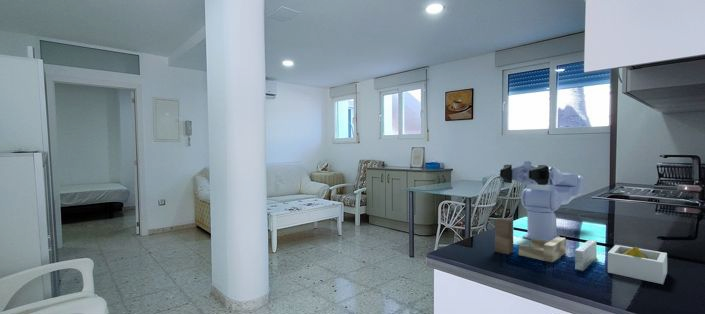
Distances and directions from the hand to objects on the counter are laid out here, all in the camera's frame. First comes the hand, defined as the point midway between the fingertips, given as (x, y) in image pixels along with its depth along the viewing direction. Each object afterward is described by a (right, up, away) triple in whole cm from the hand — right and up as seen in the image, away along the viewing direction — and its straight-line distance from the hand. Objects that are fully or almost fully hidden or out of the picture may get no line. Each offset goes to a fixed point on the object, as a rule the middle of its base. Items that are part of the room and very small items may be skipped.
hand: (515, 173), depth 88 cm
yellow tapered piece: (+19, -22, -17) cm, 33 cm away
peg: (-3, -22, 0) cm, 22 cm away
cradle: (+6, -22, -3) cm, 23 cm away
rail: (+12, -22, -10) cm, 27 cm away
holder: (+19, -22, -17) cm, 33 cm away
